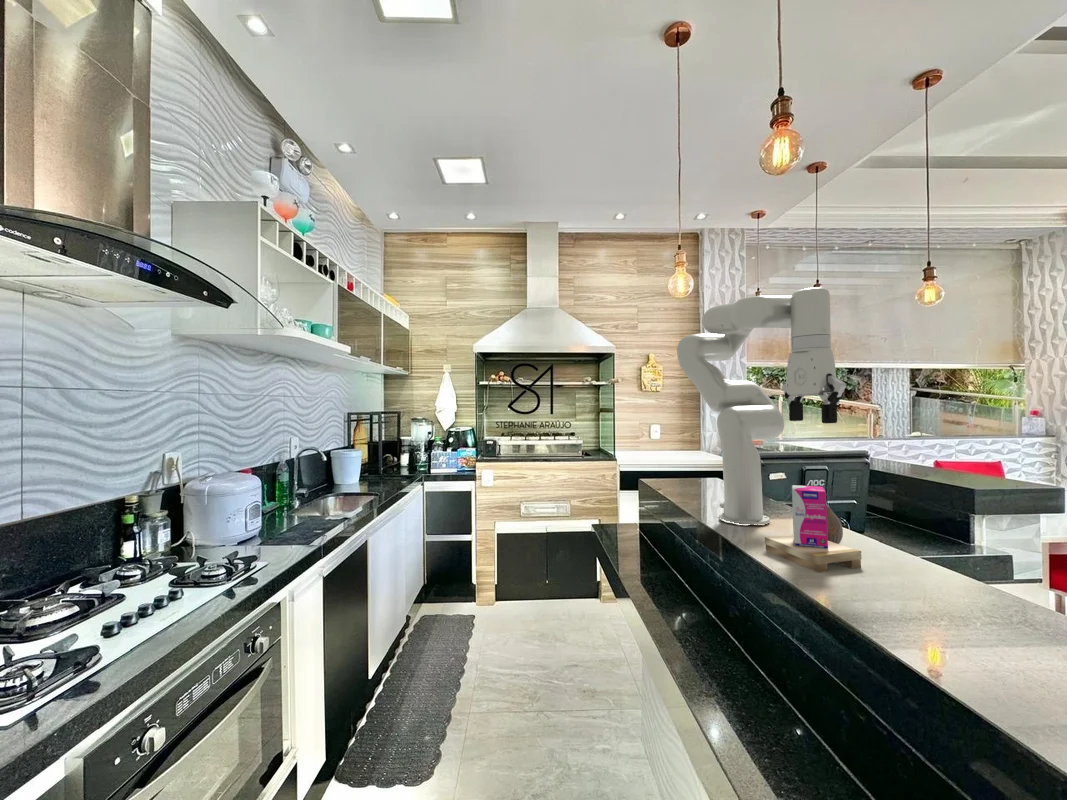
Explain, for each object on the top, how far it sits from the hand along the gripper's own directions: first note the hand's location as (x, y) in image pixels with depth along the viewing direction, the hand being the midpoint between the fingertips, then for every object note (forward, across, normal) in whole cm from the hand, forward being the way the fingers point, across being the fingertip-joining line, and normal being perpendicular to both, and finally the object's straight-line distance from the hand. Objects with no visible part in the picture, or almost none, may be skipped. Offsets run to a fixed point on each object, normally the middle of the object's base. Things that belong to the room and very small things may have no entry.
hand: (812, 421), depth 101 cm
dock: (+27, +8, -7) cm, 29 cm away
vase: (+28, 0, +2) cm, 28 cm away
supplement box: (+24, +8, -7) cm, 27 cm away
